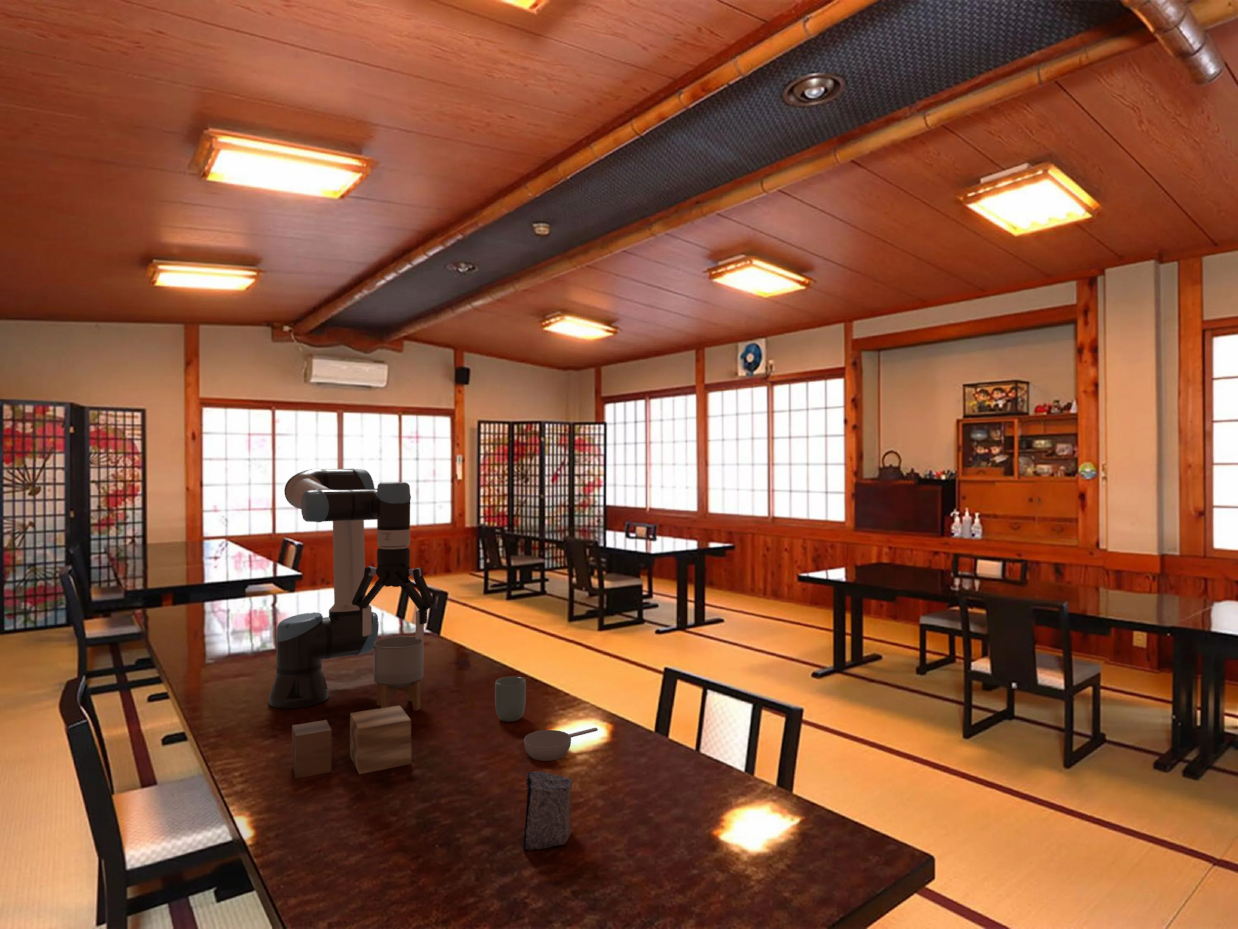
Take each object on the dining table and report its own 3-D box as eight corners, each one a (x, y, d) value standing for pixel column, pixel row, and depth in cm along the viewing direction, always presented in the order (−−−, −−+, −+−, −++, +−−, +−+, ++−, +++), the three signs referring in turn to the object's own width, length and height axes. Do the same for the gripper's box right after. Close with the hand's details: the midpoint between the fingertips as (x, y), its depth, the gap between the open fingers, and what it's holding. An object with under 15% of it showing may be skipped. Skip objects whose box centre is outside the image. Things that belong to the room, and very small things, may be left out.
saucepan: (517, 749, 168) (517, 733, 168) (587, 736, 177) (587, 720, 177) (533, 767, 159) (534, 749, 159) (607, 752, 167) (607, 735, 167)
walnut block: (292, 766, 158) (292, 725, 158) (326, 760, 161) (326, 719, 161) (295, 778, 152) (296, 736, 152) (331, 771, 155) (331, 730, 155)
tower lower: (350, 757, 164) (350, 735, 164) (399, 748, 169) (399, 726, 169) (359, 775, 154) (359, 752, 154) (411, 765, 160) (411, 742, 160)
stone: (510, 860, 124) (516, 815, 134) (566, 868, 125) (569, 823, 135) (522, 804, 121) (528, 763, 130) (580, 814, 122) (582, 772, 131)
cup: (519, 725, 183) (519, 686, 183) (490, 723, 185) (490, 684, 185) (529, 715, 191) (529, 677, 191) (501, 713, 192) (501, 675, 192)
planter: (432, 702, 201) (432, 638, 201) (404, 717, 188) (404, 649, 188) (393, 697, 205) (393, 634, 205) (362, 712, 193) (363, 645, 193)
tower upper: (350, 735, 164) (350, 713, 164) (399, 726, 169) (399, 705, 169) (358, 752, 154) (358, 728, 154) (410, 742, 160) (411, 720, 160)
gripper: (336, 547, 171) (336, 637, 171) (435, 550, 166) (435, 643, 166) (354, 544, 178) (354, 630, 178) (449, 546, 173) (448, 635, 173)
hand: (393, 636), depth 172 cm, fingers open, 13 cm apart
